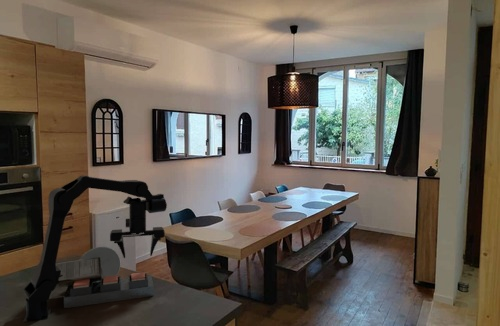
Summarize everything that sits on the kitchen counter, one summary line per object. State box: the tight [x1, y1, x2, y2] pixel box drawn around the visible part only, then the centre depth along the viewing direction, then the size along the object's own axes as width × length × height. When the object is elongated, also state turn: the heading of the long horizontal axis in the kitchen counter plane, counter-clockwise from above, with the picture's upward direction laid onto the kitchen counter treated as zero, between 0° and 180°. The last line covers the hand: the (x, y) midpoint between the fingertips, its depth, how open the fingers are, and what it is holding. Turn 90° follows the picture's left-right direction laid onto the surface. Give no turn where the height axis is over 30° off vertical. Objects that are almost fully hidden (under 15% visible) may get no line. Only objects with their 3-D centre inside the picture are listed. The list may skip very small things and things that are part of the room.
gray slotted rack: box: [63, 272, 155, 309], centre depth 123 cm, size 10×28×6 cm, turn 110°
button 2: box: [103, 274, 119, 285], centre depth 121 cm, size 4×4×3 cm
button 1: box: [130, 271, 146, 281], centre depth 124 cm, size 4×4×3 cm
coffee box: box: [54, 257, 102, 290], centre depth 123 cm, size 9×6×16 cm
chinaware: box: [79, 246, 122, 283], centre depth 133 cm, size 15×15×8 cm
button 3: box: [73, 279, 90, 288], centre depth 118 cm, size 4×4×3 cm
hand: (137, 256), depth 129 cm, fingers open, 9 cm apart
